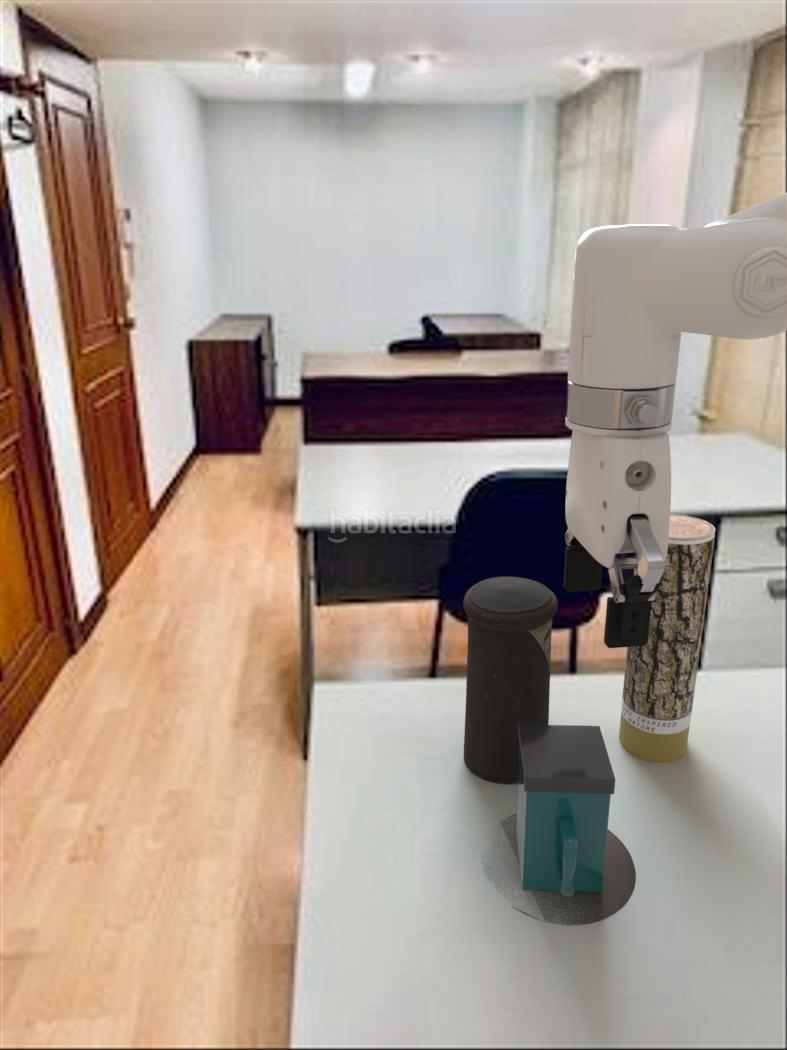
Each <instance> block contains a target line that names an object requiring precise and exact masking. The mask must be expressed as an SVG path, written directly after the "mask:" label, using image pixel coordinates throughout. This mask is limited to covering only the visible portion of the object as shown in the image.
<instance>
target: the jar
mask: <svg viewBox="0 0 787 1050" xmlns="http://www.w3.org/2000/svg"><path fill="white" fill-rule="evenodd" d="M517 739H518V747H519V775H518V784H517V804H516V805H517V808H516V811H517V812H516V819H517V820H516V823H517V824H516V825H517V826H516V827H517V828H516V829H515V832H516V834H517V835H516V834H515V835H516V836H517V837H516V838H517V840H516V842H517V843H516V844H517V853H519V855H518V857H519V858H518V859H519V860H518V863H519V862H520V864H519V873H520V872H521V877H520V879H521V880H520V882H521V887H522V888H521V890H524V891H525V890H526V891H533V890H534V891H535V890H536V891H537V890H539V891H540V890H547V891H548V890H549V891H550V890H552V891H554V892H557V891H560V892H559V894H560V893H561V894H562V896H563V895H565V897H566V898H568V897H569V898H570V897H571V895H572V894H573V893H574V891H577V892H578V893H582V892H584V893H586V892H587V893H589V892H593V893H596V892H597V893H598V892H599V893H600V892H602V885H603V884H604V883H603V880H604V877H603V874H604V873H605V872H604V870H605V869H604V866H605V865H604V863H605V853H606V851H607V850H606V841H607V839H608V838H607V831H608V830H609V816H610V815H609V814H610V808H611V807H610V805H611V795H614V794H615V789H616V777H615V773H614V770H613V767H612V763H611V760H610V756H609V753H608V749H607V747H606V743H605V739H604V737H603V734H602V730H601V726H600V725H583V724H582V725H579V724H578V725H577V724H576V725H575V724H549V725H535V724H518V731H517ZM552 891H551V892H552ZM561 894H560V895H561Z"/></svg>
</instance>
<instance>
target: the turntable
mask: <svg viewBox="0 0 787 1050" xmlns="http://www.w3.org/2000/svg"><path fill="white" fill-rule="evenodd" d="M496 827H497V829H498V830H497V829H496V832H497V833H496V836H497V838H495V837H492V840H495V841H492V844H495V843H497V844H500V835H499V834H505V838H508V841H503V844H501V846H498V848H497V853H494V856H497V859H496V857H494V856H493V853H490V856H491V857H490V858H489V854H487V852H484V853H485V855H484V854H483V857H484V859H487V861H488V864H487V866H486V865H485V862H482V863H481V864H482V867H483V868H484V871H485V876H486V879H488V881H489V882H491V880H493V877H490V875H492V876H498V878H494V881H497V882H495V888H497V893H498V892H499V893H502V890H503V887H502V886H505V887H504V888H505V889H506V890H504V893H507V892H509V889H515V887H516V886H518V888H517V891H519V892H527V890H525V889H522V886H521V884H522V881H521V872H520V871H519V870H518V869H517V866H519V865H520V862H519V853H518V849H517V846H516V844H518V843H517V834H516V830H517V813H514V814H512V815H510V816H508V817H507V816H506V818H505V819H503V820H502V821H501V822H500V823H498V824H497V825H496V826H494V828H496ZM503 829H504V831H499V830H503ZM493 831H494V832H495V829H492V832H493ZM499 832H500V833H499ZM489 836H490V835H487V836H486V838H485V840H488V839H489V838H490V837H489ZM513 836H514V839H513ZM508 842H509V843H510V844H509V843H508ZM502 846H503V847H502ZM508 846H509V847H511V848H508ZM504 848H505V850H504ZM500 849H501V852H504V854H500ZM502 849H503V850H502ZM513 849H514V850H513ZM507 850H508V851H509V854H507ZM487 851H490V848H487ZM493 852H496V847H493ZM512 853H514V854H513V857H514V859H513V857H510V855H512ZM500 857H501V858H500ZM508 857H510V859H511V860H513V863H514V864H511V862H508V864H507V860H508ZM490 860H496V862H497V864H495V861H492V864H491V861H490ZM517 861H518V863H517ZM504 863H505V864H504ZM499 864H500V865H499ZM503 865H506V866H503ZM502 866H503V869H501V868H502ZM496 867H498V869H497V872H500V869H501V872H500V873H493V872H495V869H496ZM513 867H514V869H515V872H516V873H514V870H512V869H511V868H513ZM506 869H509V873H506ZM488 872H490V874H488ZM513 873H514V877H517V876H519V878H518V877H517V878H516V879H515V880H514V879H513V878H512V877H513ZM500 875H501V876H500ZM636 875H637V874H636V868H635V862H634V860H633V858H632V856H631V854H630V852H629V851H628V849H627V847H626V846H625V844H624V843H623V842H622V841H621V840H620V839H619V838H618V837H617V835H615V834H614V833H613V831H610V830H609V829H608V830H607V841H606V852H605V863H604V874H603V885H602V892H578V891H574V893H573V894H572V895H571V896H569V897H566V896H565V895H563V894H561V893H560V891H556V892H555V891H552V890H530V893H531V894H532V895H531V897H529V896H525V895H524V894H519V895H517V896H514V898H513V901H516V899H517V901H519V902H521V905H526V906H522V907H521V906H519V904H513V906H512V908H513V909H514V910H515V911H518V912H519V913H521V914H522V915H525V916H527V917H529V918H532V919H534V920H537V921H541V922H545V923H549V924H554V925H557V924H558V925H561V926H562V925H563V926H566V925H567V926H573V925H574V926H579V925H590V924H594V923H598V922H601V921H602V920H606V919H608V918H610V917H612V916H613V915H615V914H617V913H618V912H619V911H620V910H622V909H623V908H624V907H625V906H626V904H627V903H628V902H629V901H630V898H631V897H632V896H633V892H634V891H635V887H636V880H637V878H636V877H637V876H636ZM504 877H508V878H505V880H504ZM500 879H501V883H500ZM507 881H509V882H508V883H507ZM518 881H519V882H518ZM516 882H517V883H516ZM504 883H507V885H504ZM513 883H516V884H513ZM508 886H509V889H508ZM497 893H496V894H497ZM499 893H498V894H497V895H499ZM510 893H513V890H510ZM511 896H512V897H513V894H510V897H511ZM504 897H506V900H507V899H508V901H510V902H509V903H512V898H509V897H507V894H504ZM522 898H523V899H522ZM535 901H536V902H535ZM534 904H535V905H534ZM529 905H534V909H532V911H531V913H530V910H529ZM516 906H517V907H516ZM537 906H538V909H539V911H540V912H539V914H536V912H538V909H537ZM522 909H523V910H522ZM527 909H528V911H527ZM532 914H536V917H535V915H532ZM539 916H540V917H542V918H540V919H539Z"/></svg>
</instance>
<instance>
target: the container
mask: <svg viewBox="0 0 787 1050" xmlns="http://www.w3.org/2000/svg"><path fill="white" fill-rule="evenodd" d="M462 603H463V604H462V605H463V610H464V612H465V614H466V615H467V646H466V648H467V655H466V656H467V658H466V681H465V682H466V683H465V684H466V687H465V689H466V690H465V711H464V713H465V714H464V734H463V736H464V738H463V762H464V764H465V766H466V768H467V769H468V770H469V772H470V773H471V774H473V775H475V776H476V777H478V778H479V779H481V780H484V781H486V782H489V783H493V784H499V785H518V775H519V747H518V739H517V731H518V724H535V725H550V691H551V689H550V688H551V663H552V659H551V658H552V634H553V618H554V615H556V612H557V610H558V604H559V603H558V599H557V595H555V593H554V592H553V591H552V590H551V589H549V588H548V587H547V586H546V585H544V584H543V583H541V582H538V581H536V580H533V579H530V578H524V577H518V576H495V577H494V576H493V577H490V578H486V579H484V580H483V579H482V580H481V581H479V582H478V583H475V584H473V585H472V586H471V587H469V589H468V590H467V591H466V593H465V595H464V597H463V601H462Z"/></svg>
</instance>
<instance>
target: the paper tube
mask: <svg viewBox="0 0 787 1050" xmlns="http://www.w3.org/2000/svg"><path fill="white" fill-rule="evenodd" d="M715 532H716V528H715V526H714V525H713V524H712V523H710V522H708V521H707V520H705V519H702V518H699V517H695V516H691V515H684V514H675V513H670V524H669V538H668V550H667V557H666V560H665V570H664V572H663V575H662V577H661V579H660V581H659V582H660V587H659V589H658V591H657V592H656V597H655V600H654V601H652V606H651V615H650V625H649V634H648V642H647V644H646V645H644V646H634V647H626V654H625V655H626V657H625V664H624V665H625V666H624V676H623V688H622V696H621V697H622V698H621V708H620V721H619V731H618V732H619V733H618V741H619V743H620V745H621V746H622V748H623V749H624V750H625V751H626V752H627V753H629V754H631V756H634V757H636V758H638V759H641V760H644V761H647V762H651V763H652V762H653V763H671V762H675V761H677V760H679V759H681V758H683V757H684V756H685V754H686V753H687V749H688V741H689V733H690V727H691V721H692V713H693V705H694V698H695V696H694V695H695V689H696V682H697V674H698V668H699V661H700V660H699V659H700V652H701V646H702V637H703V631H704V621H705V616H706V615H705V613H706V607H707V599H708V592H709V584H710V577H711V568H712V563H713V554H714V548H715V547H714V546H715V540H716V539H715V538H716V533H715ZM636 570H637V568H636V569H633V576H635V575H637V571H636Z"/></svg>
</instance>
